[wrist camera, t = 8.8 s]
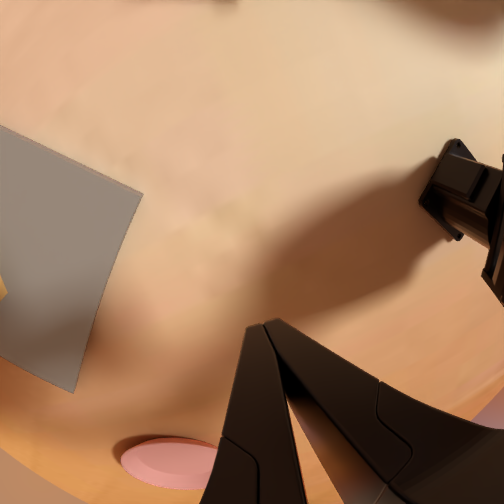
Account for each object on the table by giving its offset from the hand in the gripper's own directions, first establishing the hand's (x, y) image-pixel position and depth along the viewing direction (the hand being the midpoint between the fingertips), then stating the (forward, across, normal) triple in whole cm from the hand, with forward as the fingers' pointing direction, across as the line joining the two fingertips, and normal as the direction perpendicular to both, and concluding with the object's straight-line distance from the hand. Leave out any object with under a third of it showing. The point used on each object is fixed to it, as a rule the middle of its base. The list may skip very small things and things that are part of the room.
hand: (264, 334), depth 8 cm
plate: (+13, +12, +28) cm, 34 cm away
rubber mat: (+14, +18, -1) cm, 23 cm away
